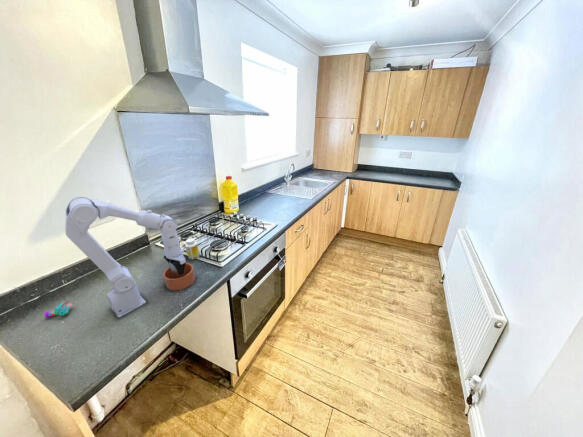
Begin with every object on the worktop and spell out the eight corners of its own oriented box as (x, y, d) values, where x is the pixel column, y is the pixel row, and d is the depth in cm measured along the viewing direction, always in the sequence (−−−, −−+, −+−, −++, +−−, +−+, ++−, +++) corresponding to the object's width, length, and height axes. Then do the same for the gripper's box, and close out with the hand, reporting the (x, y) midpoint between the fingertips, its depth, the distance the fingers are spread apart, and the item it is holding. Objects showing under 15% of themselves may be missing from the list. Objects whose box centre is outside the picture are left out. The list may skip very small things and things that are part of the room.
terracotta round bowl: (174, 295, 95) (171, 283, 93) (161, 283, 102) (158, 272, 100) (200, 280, 104) (198, 269, 101) (186, 270, 110) (184, 259, 108)
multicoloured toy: (54, 296, 88) (37, 308, 82) (76, 295, 89) (61, 307, 82) (58, 308, 90) (41, 320, 83) (80, 307, 90) (65, 319, 84)
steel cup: (176, 281, 98) (172, 265, 95) (171, 276, 101) (166, 261, 98) (188, 275, 102) (184, 259, 99) (182, 270, 105) (178, 255, 101)
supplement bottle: (200, 253, 123) (197, 237, 119) (198, 259, 118) (194, 242, 114) (190, 254, 123) (186, 237, 119) (186, 260, 118) (182, 243, 114)
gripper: (190, 245, 94) (196, 273, 99) (172, 235, 102) (178, 261, 107) (172, 253, 89) (180, 281, 94) (155, 241, 97) (163, 268, 102)
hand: (178, 271), depth 100 cm, fingers closed on steel cup, 5 cm apart
